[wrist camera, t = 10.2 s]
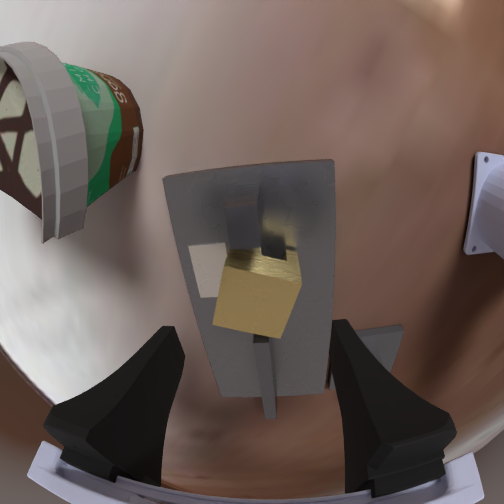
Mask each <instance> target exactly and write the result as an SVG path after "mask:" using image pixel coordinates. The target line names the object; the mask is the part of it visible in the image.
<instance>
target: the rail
mask: <svg viewBox="0 0 504 504" xmlns="http://www.w3.org/2000/svg"><path fill="white" fill-rule="evenodd" d="M163 184H164V189H165V194H166V199H167V204H168V209H169V213H170V218H171V222H172V227H173V231H174V236H175V240H176V244H177V248H178V252H179V256H180V260H181V264H182V268H183V272H184V276H185V280H186V284H187V287H188V291H189V295H190V298H191V302H192V305H193V309H194V312H195V316H196V319H197V323H198V326H199V329H200V333H201V336H202V339H203V342H204V346H205V349H206V352H207V355H208V358H209V361H210V364H211V367H212V370H213V373H214V376H215V379H216V382H217V385H218V388H219V391H220V393H221V396H222V397H262V402H263V408H264V414H265V419H277V396H295V395H309V394H320V393H324V388H325V380H326V372H327V364H328V354H329V345H330V334H331V322H332V308H333V292H334V271H335V229H336V211H335V168H334V161H333V160H332V159H325V160H304V161H288V162H274V163H263V164H252V165H242V166H233V167H225V168H216V169H209V170H202V171H195V172H188V173H181V174H175V175H169V176H166V177H164V178H163ZM229 247H230V250H233V249H242V251H245V252H250V253H254V254H258V255H263V256H267V257H271V258H276V259H280V260H283V257H284V254H285V251H286V249H287V250H291V251H296V252H297V255H298V261H299V266H300V272H301V278H302V285H301V288H300V291H299V293H298V296H297V298H296V301H295V304H294V306H293V309H292V311H291V314H290V316H289V319H288V321H287V324H286V326H285V329H284V331H283V333H282V336H281V338H280V339H279V338H274V337H268V336H263V335H258V334H253V333H248V332H243V331H238V330H234V329H229V328H225V327H220V326H216V325H212V324H213V318H214V313H215V308H216V303H217V298H218V292H219V287H220V282H221V277H222V272H223V267H224V264H225V260H226V257H227V254H228V250H229Z"/></svg>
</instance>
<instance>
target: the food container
mask: <svg viewBox="0 0 504 504" xmlns="http://www.w3.org/2000/svg"><path fill="white" fill-rule="evenodd" d="M142 139H143V125H142V120H141V114H140V108H139V106H138V104H137V102H136V100H135V98H134V96H133V94H132V93H131V91H130V89H129V88H128V87H127V86H125V85H124V84H123V83H122V82H121V81H120V80H118V79H116V78H114V77H113V76H110V75H106V74H103V73H100V72H96V71H93V70H89V69H85V68H82V67H78V66H74V65H70V64H66V63H62V62H61V61H60V60H59V58H58V57H57V56H56V55H55V54H54V53H53V52H52V51H50V50H49V49H48V48H47V47H45V46H43V45H40V44H38V43H35V42H20V43H15V44H10V45H5V46H1V47H0V190H1V191H3V192H5V193H6V194H8V195H9V196H11V197H13V198H14V199H15V200H17V201H18V202H19V203H21V204H22V205H23V206H25V207H26V208H27V209H29V210H30V211H31V212H33V213H34V214H35V215H37V216H38V217H39V218H41V219H42V238H41V243H44V242H46V241H47V240H49V239H50V238H52V237H55V238H57V239H59V238H62V237H64V236H66V235H68V234H70V233H73V232H75V231H77V230H79V229H82V228H83V225H84V218H85V213H86V207H88V206H89V205H90V204H91V203H93V202H94V201H95V200H96V199H98V198H99V197H100V196H101V195H103V194H104V193H105V192H107V191H108V190H109V189H110V188H112V187H113V186H114V185H116V184H117V183H119V182H120V181H121V180H123V179H124V178H125V177H127V176H128V175H130V174H131V173H132V172H134V171H135V170H136V168H137V165H138V162H139V159H140V156H141V151H142Z"/></svg>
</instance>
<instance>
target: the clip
mask: <svg viewBox="0 0 504 504" xmlns="http://www.w3.org/2000/svg"><path fill="white" fill-rule="evenodd" d="M301 285H302V278H301V272H300V266H299V261H298V255H297V252H296V251H291V250H287V249H286V251H285V254H284V257H283V260H280V259H276V258H271V257H267V256H263V255H258V254H254V253H250V252H245V251H242V249H233V250H230V247H229V250H228V254H227V257H226V260H225V264H224V267H223V272H222V277H221V282H220V287H219V292H218V298H217V303H216V308H215V313H214V318H213V324H212V325H216V326H220V327H225V328H229V329H234V330H238V331H243V332H248V333H253V334H258V335H263V336H268V337H274V338H279V339H280V338H281V336H282V333H283V331H284V329H285V326H286V324H287V321H288V319H289V316H290V314H291V311H292V309H293V306H294V304H295V301H296V298H297V296H298V293H299V291H300V288H301Z"/></svg>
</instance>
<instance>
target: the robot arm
mask: <svg viewBox="0 0 504 504" xmlns="http://www.w3.org/2000/svg"><path fill="white" fill-rule="evenodd" d="M484 158H485V162H484ZM473 247H474V248H473ZM472 248H473V249H472ZM463 250H464V252H465V253H466V254H467V255H472V254H480V253H488V252H496V253H497V254H498V255H499V256H500V257H502V258H503V259H504V156H503V155H498V154H492V153H486V152H477V153H476V155H475V165H474V179H473V190H472V199H471V207H470V214H469V221H468V227H467V233H466V238H465V243H464V248H463ZM329 353H330V362H331V370H332V375H333V379H334V384H335V388H336V392H337V397H338V401H339V406H340V410H341V416H342V424H343V435H344V451H345V494H341V495H334V496H326V497H316V498H304V499H282V500H259V499H237V498H224V497H215V496H206V495H199V494H193V493H187V492H181V491H176V490H171V489H166V488H161V487H160V486H161V469H162V456H163V446H164V439H165V433H166V427H167V422H168V417H169V413H170V410H171V406H172V403H173V400H174V397H175V394H176V391H177V388H178V385H179V382H180V379H181V376H182V371H183V366H184V360H185V354H184V351H183V349H182V346H181V343H180V341H179V338H178V335H177V333H176V330H175V327H174V326H162V327H161V328H160V329H159V330H158V331H157V332H156V333H155V334H154V335H153V336H152V337H151V338H150V339H149V340H148V341H147V342H146V343H145V344H144V345H143V346H142V347H141V348H140V349H139V350H138V351H137V352H136V353H135V354H134V355H133V356H132V357H131V358H130V359H129V360H128V361H127V362H126V363H124V364H123V365H122V366H121V367H120V368H119V369H118V370H116V371H115V372H114V373H113V374H111V375H110V376H109V377H107V378H106V379H105V380H103V381H102V382H100V383H99V384H97V385H95V386H94V387H92V388H91V389H89V390H87V391H85V392H84V393H82V394H80V395H78V396H76V397H74V398H72V399H69V400H67V401H64V402H62V403H59V404H57V405H54V406H53V407H52V409H51V410H50V412H49V414H48V416H47V418H46V420H45V422H44V424H43V425H44V428H45V429H46V430H47V432H48V433H49V434H50V435H52V436H53V437H54V438H55V439H56V440H57V441H58V442H60V443H61V444H62V445H63V446H64V449H63V451H62V450H61V449H59V448H57V447H55V446H53V445H51V444H49V443H47V442H45V441H42V443H41V445H40V447H39V449H38V452H37V454H36V456H35V458H34V460H33V463H32V465H31V467H30V469H29V472H28V474H27V476H28V477H29V478H31V479H32V480H33V481H35V482H37V483H38V484H39V485H41V486H43V487H44V488H46V489H47V490H49V491H51V492H52V493H54V494H56V495H58V496H59V497H61V498H63V499H64V500H66V501H68V502H70V503H72V504H159V503H156V502H152V501H149V500H153V501H157V502H161V503H165V504H474V503H476V502H478V501H479V500H481V499H483V498H484V493H483V488H482V484H481V480H480V477H479V473H478V469H477V466H476V462H475V459H474V456H473V452H469V453H467V454H465V455H462V456H460V457H458V458H455V459H453V460H451V461H449V462H447V463H445V464H444V465H443V461H442V459H443V458H444V457H445V455H444V451H443V449H444V448H445V447H446V446H447V445H448V444H449V443H450V442H451V441H452V440H453V439H454V438H455V436H456V433H457V431H456V428H455V425H454V423H453V420H452V418H451V417H450V415H449V413H448V412H446V411H444V410H442V409H440V408H438V407H436V406H434V405H432V404H430V403H429V402H427V401H425V400H424V399H422V398H421V397H419V396H418V395H416V394H415V393H414V392H412V391H411V390H410V389H408V388H407V387H406V386H404V385H403V384H402V383H401V382H400V381H398V380H397V379H396V378H395V377H394V376H393V375H392V374H391V373H390V372H389V371H388V370H387V369H386V368H385V367H384V366H383V365H382V364H381V363H380V362H379V361H378V360H377V359H376V358H375V356H374V355H373V354H372V353H371V352H370V351H369V349H368V348H367V347H366V346H365V344H364V343H363V342H362V340H361V339H360V338H359V336H358V335H357V334H356V332H355V331H354V329H353V328H352V326H351V325H350V323H349V322H348V321H347V320H346V319H341V320H332V330H331V341H330V350H329ZM144 498H146V499H149V500H146V499H144Z"/></svg>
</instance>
